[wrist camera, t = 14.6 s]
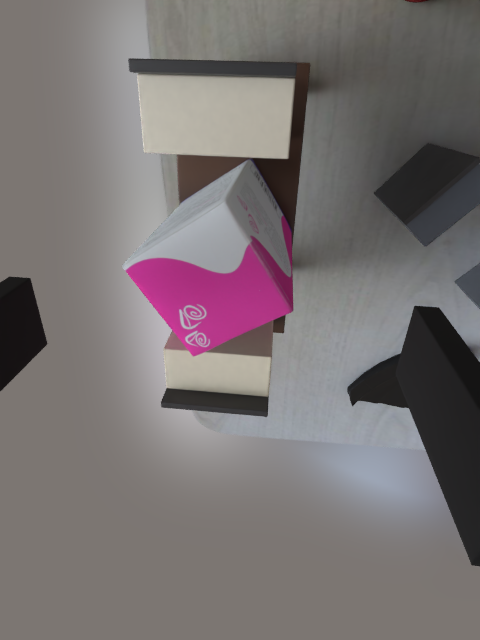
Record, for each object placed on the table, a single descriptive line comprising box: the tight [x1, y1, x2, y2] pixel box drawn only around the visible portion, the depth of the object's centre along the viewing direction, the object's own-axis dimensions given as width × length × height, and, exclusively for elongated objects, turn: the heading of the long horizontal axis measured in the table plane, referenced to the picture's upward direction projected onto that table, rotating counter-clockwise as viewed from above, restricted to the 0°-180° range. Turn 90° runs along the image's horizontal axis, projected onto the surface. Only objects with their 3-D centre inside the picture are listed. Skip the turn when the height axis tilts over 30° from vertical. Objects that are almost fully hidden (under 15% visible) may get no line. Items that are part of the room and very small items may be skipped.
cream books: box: [128, 59, 297, 417], centre depth 22 cm, size 16×6×10 cm, turn 178°
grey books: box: [374, 143, 480, 309], centre depth 34 cm, size 16×6×10 cm, turn 48°
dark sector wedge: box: [348, 354, 409, 408], centre depth 47 cm, size 8×14×2 cm, turn 102°
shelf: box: [177, 60, 310, 333], centre depth 32 cm, size 18×8×13 cm, turn 178°
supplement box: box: [123, 158, 293, 357], centre depth 22 cm, size 6×6×12 cm
